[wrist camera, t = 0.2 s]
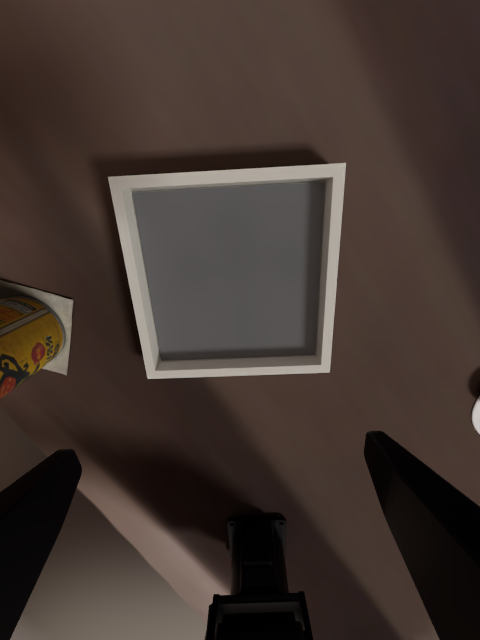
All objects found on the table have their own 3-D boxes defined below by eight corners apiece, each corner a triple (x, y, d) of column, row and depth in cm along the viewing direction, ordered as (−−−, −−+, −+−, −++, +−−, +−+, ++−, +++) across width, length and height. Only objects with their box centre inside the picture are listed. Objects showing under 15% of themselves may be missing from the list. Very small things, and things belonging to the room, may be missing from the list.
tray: (322, 358, 23) (329, 372, 21) (155, 364, 24) (147, 378, 22) (334, 169, 18) (345, 163, 16) (122, 181, 19) (107, 176, 17)
